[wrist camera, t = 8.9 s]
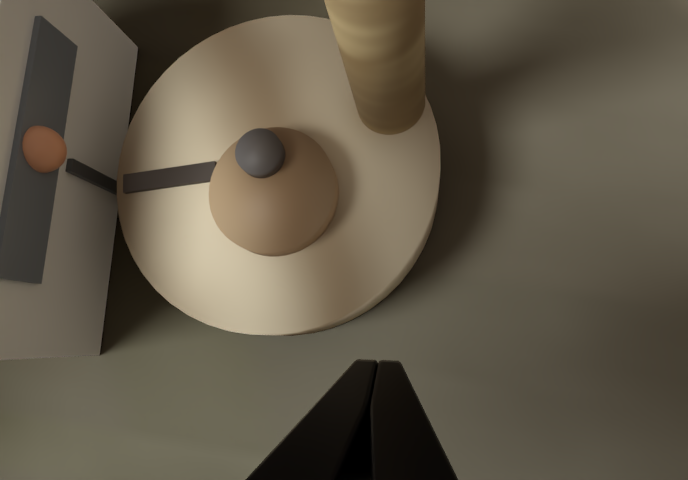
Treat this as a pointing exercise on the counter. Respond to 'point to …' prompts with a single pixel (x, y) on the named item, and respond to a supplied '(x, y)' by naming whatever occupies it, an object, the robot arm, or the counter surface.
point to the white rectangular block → (59, 172)
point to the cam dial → (285, 169)
